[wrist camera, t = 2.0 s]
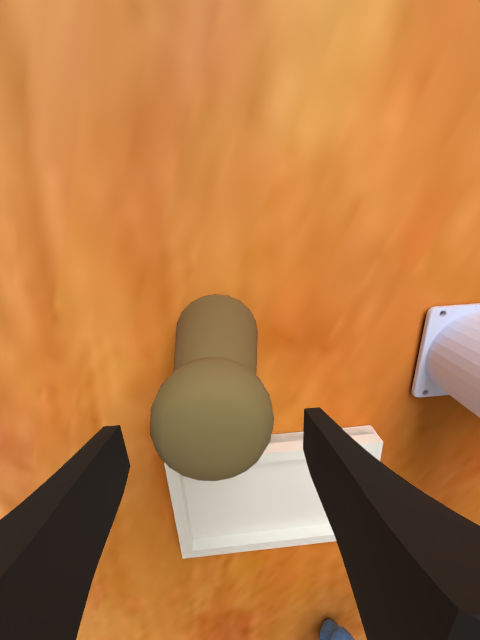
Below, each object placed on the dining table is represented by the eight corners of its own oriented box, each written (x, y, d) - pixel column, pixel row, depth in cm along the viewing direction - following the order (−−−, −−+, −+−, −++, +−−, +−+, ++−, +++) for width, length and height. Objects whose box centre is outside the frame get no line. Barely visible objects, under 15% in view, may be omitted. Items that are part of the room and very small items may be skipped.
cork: (211, 382, 22) (201, 527, 12) (158, 327, 20) (91, 442, 10) (273, 339, 21) (321, 455, 11) (223, 277, 19) (224, 345, 9)
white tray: (370, 425, 25) (383, 442, 23) (357, 516, 29) (367, 537, 27) (168, 444, 24) (164, 463, 22) (185, 535, 28) (182, 558, 26)
